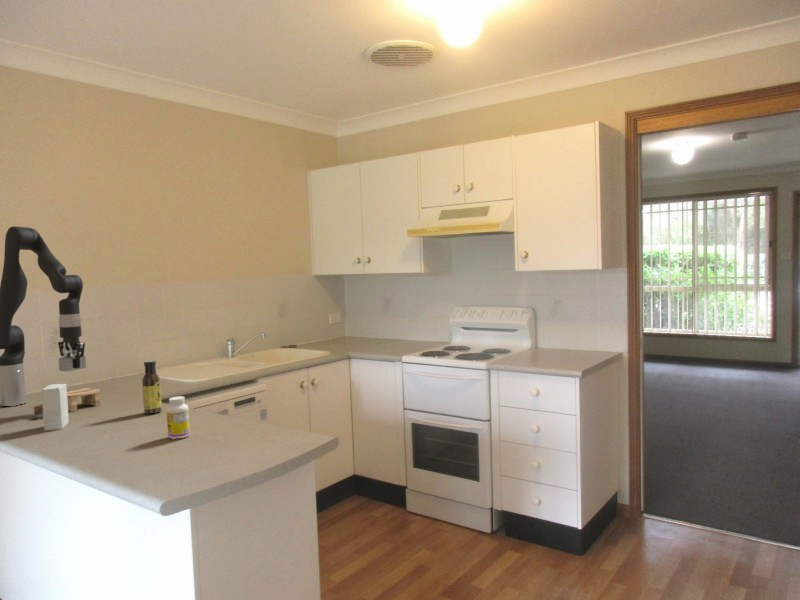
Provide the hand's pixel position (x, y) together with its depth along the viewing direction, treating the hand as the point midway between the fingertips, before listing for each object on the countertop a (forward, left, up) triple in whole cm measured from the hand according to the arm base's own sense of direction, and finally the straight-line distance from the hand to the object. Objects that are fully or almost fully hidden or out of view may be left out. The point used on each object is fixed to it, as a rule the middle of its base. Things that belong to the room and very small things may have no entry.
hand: (72, 367), depth 235 cm
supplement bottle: (+74, -8, -17) cm, 76 cm away
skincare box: (+22, -19, -17) cm, 33 cm away
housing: (0, 0, -1) cm, 1 cm away
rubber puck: (+2, -15, -17) cm, 23 cm away
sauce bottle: (+37, +9, -17) cm, 41 cm away
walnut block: (-2, -12, -17) cm, 21 cm away
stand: (-1, +2, -17) cm, 17 cm away
